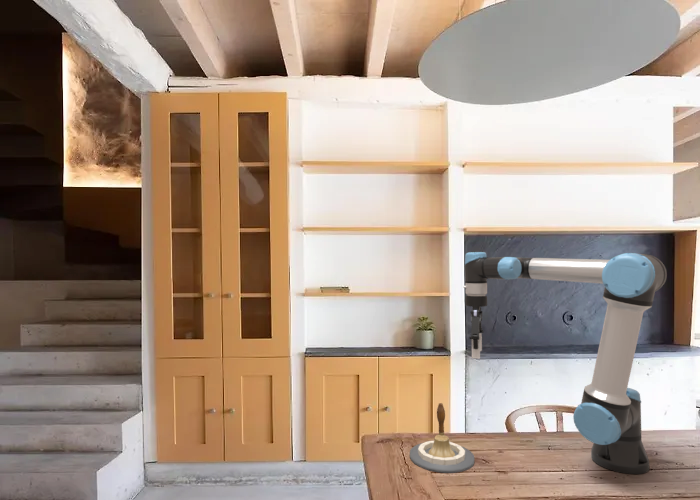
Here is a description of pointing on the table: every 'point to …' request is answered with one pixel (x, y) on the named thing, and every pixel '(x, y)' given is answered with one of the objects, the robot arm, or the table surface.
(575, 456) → the table surface
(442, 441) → the hand bell
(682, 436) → the table surface
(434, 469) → the ring tray
